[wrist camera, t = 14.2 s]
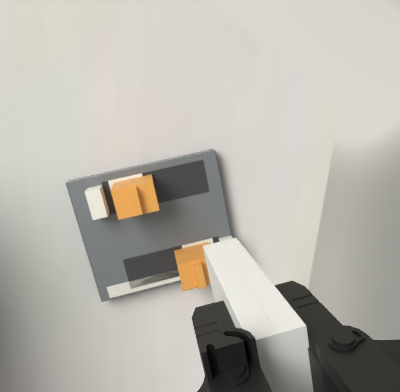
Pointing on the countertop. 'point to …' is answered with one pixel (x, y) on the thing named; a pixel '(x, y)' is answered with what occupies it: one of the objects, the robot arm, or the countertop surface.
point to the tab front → (134, 197)
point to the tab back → (192, 267)
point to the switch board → (149, 222)
